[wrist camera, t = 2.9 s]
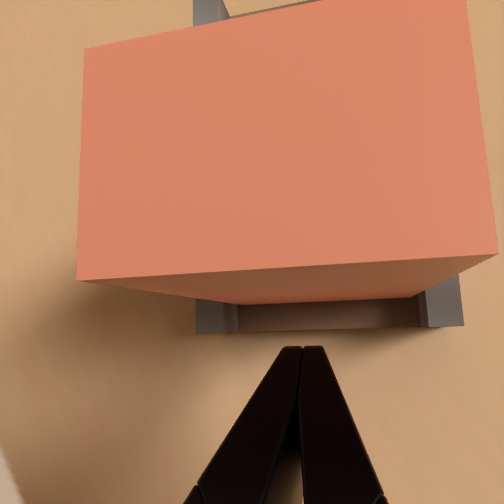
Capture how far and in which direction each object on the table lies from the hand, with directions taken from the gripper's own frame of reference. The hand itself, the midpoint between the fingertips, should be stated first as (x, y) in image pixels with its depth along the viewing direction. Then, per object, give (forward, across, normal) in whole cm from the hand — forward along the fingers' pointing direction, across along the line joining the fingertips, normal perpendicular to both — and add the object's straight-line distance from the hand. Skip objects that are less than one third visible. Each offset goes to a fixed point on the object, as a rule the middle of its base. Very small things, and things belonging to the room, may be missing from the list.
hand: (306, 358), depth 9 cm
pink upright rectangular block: (+7, 0, +2) cm, 7 cm away
